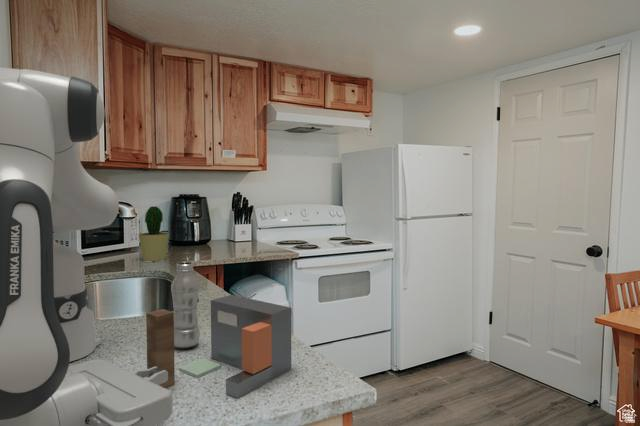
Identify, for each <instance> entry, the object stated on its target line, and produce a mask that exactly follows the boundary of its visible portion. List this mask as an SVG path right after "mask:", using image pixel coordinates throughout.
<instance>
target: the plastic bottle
mask: <svg viewBox="0 0 640 426" xmlns="http://www.w3.org/2000/svg"><path fill="white" fill-rule="evenodd" d="M175 271H176V275H175V277H174V278H173V279H172V282H171V285H170V291H171V297H172V304H173V305H172V306H173V312H174V348H176V349H188V348H190V349H191V348H193V347H195V346H197V344H198V343H199V341H200V335H201V333H200V327H199V321H198V300H199V299H198V297H199V291H200V283H199V280H198V279H197V277H196V276H195V275H194V274H193V271H194V264H193V262H191V261H190V262H189V261H183V262H177V263H176V270H175Z"/></svg>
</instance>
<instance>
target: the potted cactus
mask: <svg viewBox="0 0 640 426" xmlns="http://www.w3.org/2000/svg"><path fill="white" fill-rule="evenodd" d="M163 222H164V214H163V211H162V210H161V208H160V207H159V206H157V205H156V206H149V208H147V210H146V211H145V215H144V223H145V225H146V231H147V232H141V233H138V239H139V243H140V249H141V256H142V261H161V260H165V259H166V260H167V254H168V248H169V247H168V245H169V238H170V232H163V231H161V227H162V226H161V225H162V223H163ZM166 260H165V261H166Z"/></svg>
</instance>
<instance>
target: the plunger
mask: <svg viewBox="0 0 640 426" xmlns="http://www.w3.org/2000/svg"><path fill="white" fill-rule="evenodd" d="M271 365H272V327H271V324H267V323H263V322H258V323H256V324H253V325H250V326H247V327H245V328H242V369H241V371H246V372H249V373H252V374H255V373H257V372H259V371H261V370H263V369H265V368H267V367H269V366H271Z"/></svg>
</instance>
